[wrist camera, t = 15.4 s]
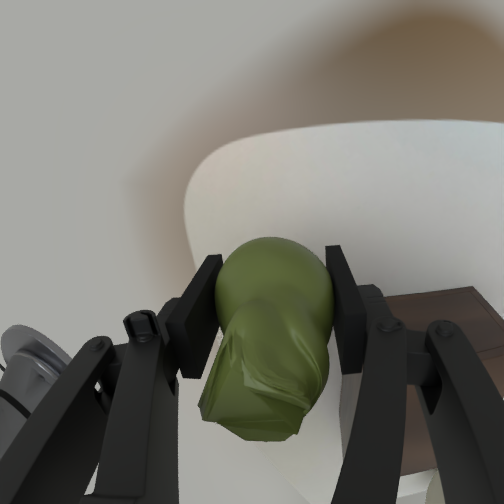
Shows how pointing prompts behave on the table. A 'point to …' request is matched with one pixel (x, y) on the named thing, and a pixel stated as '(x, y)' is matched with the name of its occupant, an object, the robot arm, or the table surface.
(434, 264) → the table surface
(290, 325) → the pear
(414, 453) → the cabinet
